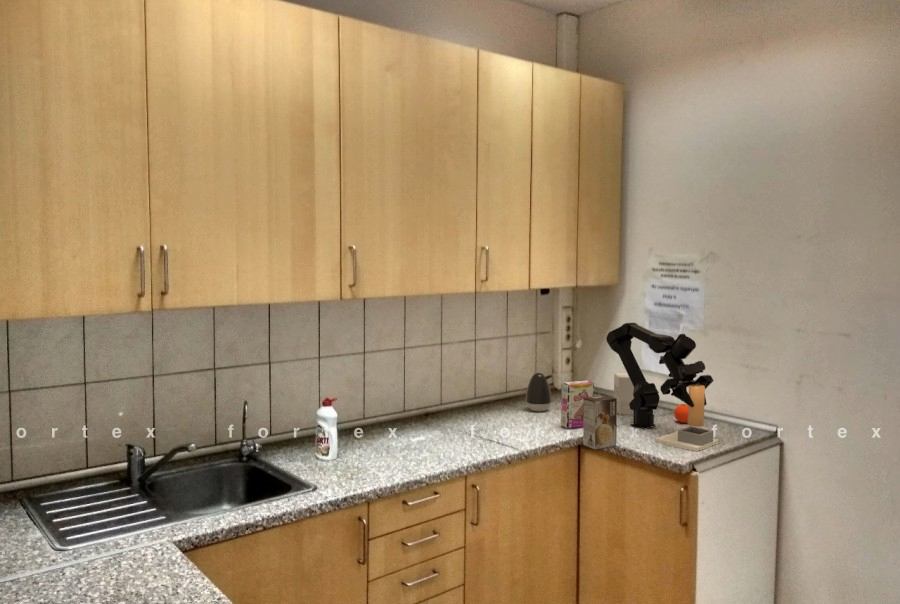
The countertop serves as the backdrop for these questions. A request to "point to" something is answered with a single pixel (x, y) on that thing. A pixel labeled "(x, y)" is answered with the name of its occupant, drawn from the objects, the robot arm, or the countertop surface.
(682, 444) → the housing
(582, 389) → the candy bar box
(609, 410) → the coffee box
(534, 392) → the pump dispenser
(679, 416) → the clementine
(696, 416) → the orange rounded part
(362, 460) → the countertop surface
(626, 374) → the supplement box
